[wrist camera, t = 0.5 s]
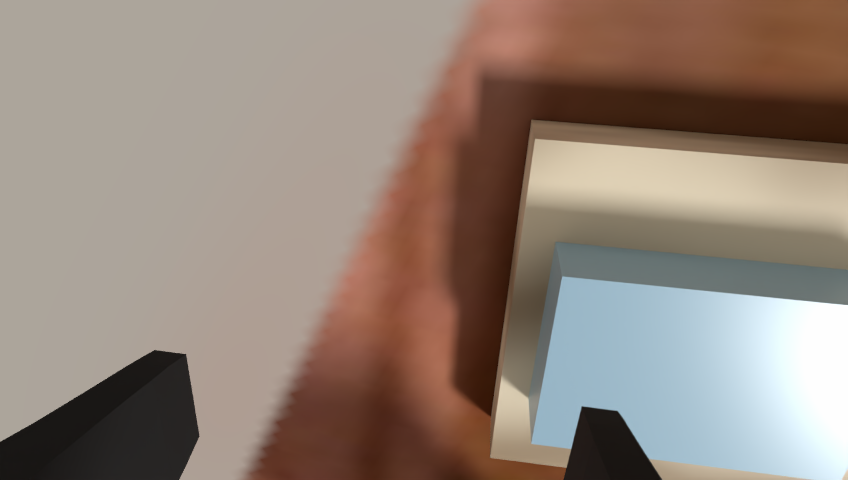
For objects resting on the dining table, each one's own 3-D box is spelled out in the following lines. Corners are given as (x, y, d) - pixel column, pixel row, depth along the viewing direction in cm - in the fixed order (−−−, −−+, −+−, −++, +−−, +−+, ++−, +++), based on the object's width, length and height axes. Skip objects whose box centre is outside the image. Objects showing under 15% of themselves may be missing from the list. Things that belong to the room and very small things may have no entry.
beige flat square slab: (808, 457, 21) (836, 502, 20) (490, 417, 22) (489, 457, 21) (961, 152, 16) (1019, 177, 14) (531, 119, 17) (535, 138, 15)
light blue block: (884, 273, 16) (933, 313, 14) (806, 431, 18) (839, 483, 17) (555, 241, 16) (562, 276, 15) (528, 398, 19) (531, 443, 17)
